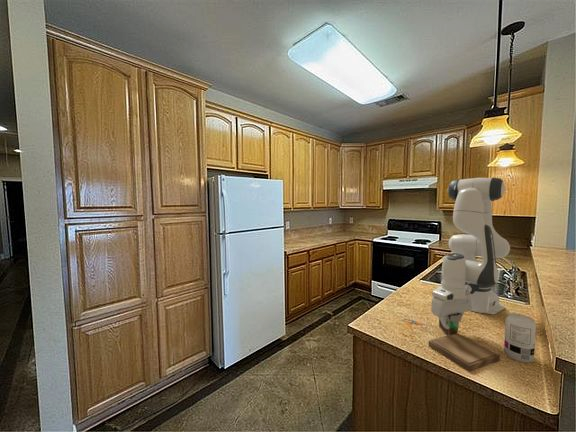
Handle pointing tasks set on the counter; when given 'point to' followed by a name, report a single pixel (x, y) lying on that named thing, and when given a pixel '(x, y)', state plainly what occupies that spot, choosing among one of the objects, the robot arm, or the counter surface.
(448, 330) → the food container
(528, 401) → the counter surface
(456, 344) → the base
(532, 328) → the supplement can
